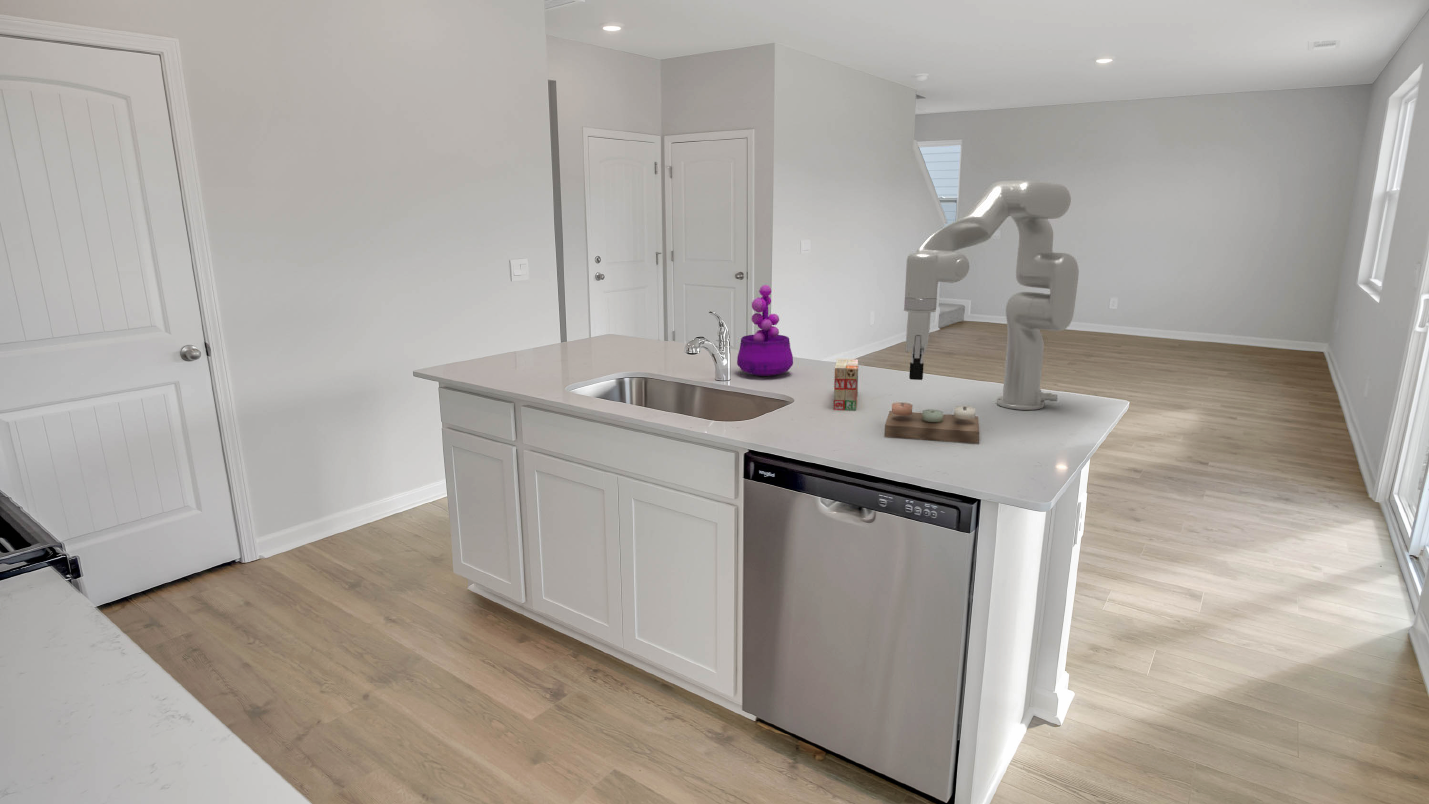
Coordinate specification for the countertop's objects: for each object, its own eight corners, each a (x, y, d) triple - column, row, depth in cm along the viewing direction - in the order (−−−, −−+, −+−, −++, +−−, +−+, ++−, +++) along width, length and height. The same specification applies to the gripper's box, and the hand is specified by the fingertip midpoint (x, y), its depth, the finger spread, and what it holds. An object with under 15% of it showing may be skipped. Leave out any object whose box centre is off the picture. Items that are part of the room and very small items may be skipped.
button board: (977, 427, 198) (978, 416, 198) (978, 443, 185) (979, 431, 185) (889, 421, 204) (889, 410, 204) (884, 436, 192) (884, 425, 191)
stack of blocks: (836, 392, 237) (838, 352, 234) (857, 393, 236) (859, 353, 233) (833, 410, 217) (834, 367, 214) (856, 411, 216) (857, 367, 213)
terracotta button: (912, 410, 197) (912, 402, 197) (911, 415, 193) (911, 407, 192) (892, 409, 199) (892, 401, 198) (890, 414, 194) (891, 406, 194)
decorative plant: (777, 382, 250) (778, 289, 243) (727, 377, 259) (726, 286, 252) (801, 371, 266) (803, 283, 259) (753, 366, 275) (753, 281, 268)
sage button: (943, 417, 196) (943, 409, 195) (942, 423, 191) (943, 414, 191) (922, 416, 197) (922, 408, 197) (921, 421, 192) (921, 413, 192)
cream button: (974, 414, 193) (975, 406, 193) (975, 419, 189) (975, 411, 188) (953, 413, 195) (954, 405, 194) (953, 418, 190) (954, 410, 190)
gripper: (905, 300, 196) (901, 372, 201) (902, 308, 182) (898, 384, 187) (936, 301, 194) (932, 373, 199) (936, 309, 180) (931, 386, 185)
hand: (915, 378), depth 193 cm, fingers closed
